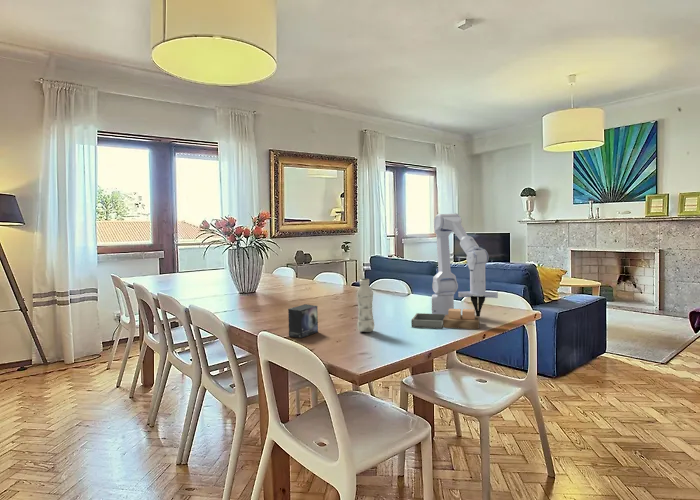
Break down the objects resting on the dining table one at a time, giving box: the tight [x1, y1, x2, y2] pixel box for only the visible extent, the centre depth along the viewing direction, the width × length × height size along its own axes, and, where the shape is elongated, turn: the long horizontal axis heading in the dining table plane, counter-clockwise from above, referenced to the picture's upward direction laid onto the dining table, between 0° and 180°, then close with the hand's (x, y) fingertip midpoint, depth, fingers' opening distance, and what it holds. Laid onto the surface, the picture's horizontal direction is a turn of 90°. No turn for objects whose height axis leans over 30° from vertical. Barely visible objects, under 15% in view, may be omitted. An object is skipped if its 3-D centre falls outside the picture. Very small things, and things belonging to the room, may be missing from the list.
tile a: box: [461, 308, 476, 319], centre depth 169 cm, size 4×4×3 cm
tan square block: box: [448, 308, 462, 319], centre depth 171 cm, size 4×4×3 cm
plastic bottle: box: [356, 278, 375, 333], centre depth 164 cm, size 6×7×20 cm
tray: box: [411, 312, 445, 329], centre depth 174 cm, size 12×13×3 cm
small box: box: [287, 303, 319, 339], centre depth 164 cm, size 11×6×10 cm, turn 148°
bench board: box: [442, 314, 480, 330], centre depth 170 cm, size 13×10×3 cm
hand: (478, 316), depth 168 cm, fingers closed
